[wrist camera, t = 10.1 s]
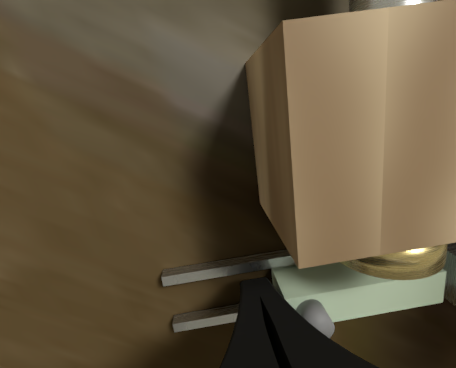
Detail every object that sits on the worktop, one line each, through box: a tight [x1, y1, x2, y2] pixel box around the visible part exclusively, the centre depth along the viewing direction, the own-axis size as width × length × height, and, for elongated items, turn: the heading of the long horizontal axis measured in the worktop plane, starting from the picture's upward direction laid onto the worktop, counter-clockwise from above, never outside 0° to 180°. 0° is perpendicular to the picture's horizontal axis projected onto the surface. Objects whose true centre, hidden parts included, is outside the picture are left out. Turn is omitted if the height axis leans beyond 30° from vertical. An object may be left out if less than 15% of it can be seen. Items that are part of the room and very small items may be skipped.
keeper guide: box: [161, 243, 456, 332], centre depth 12 cm, size 14×3×2 cm, turn 98°
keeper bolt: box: [271, 262, 447, 338], centre depth 12 cm, size 7×2×3 cm, turn 98°
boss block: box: [245, 0, 456, 269], centre depth 9 cm, size 8×6×5 cm
